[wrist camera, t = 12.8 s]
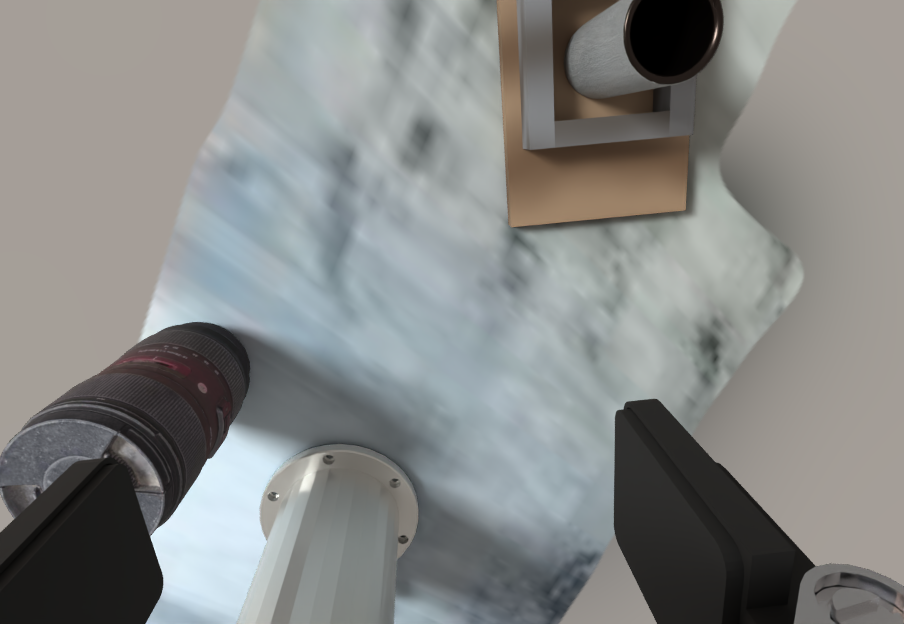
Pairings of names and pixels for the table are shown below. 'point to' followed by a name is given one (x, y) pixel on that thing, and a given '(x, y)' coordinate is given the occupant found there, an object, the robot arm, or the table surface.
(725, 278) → the table surface
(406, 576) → the table surface
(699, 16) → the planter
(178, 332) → the camera lens
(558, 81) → the socket board
